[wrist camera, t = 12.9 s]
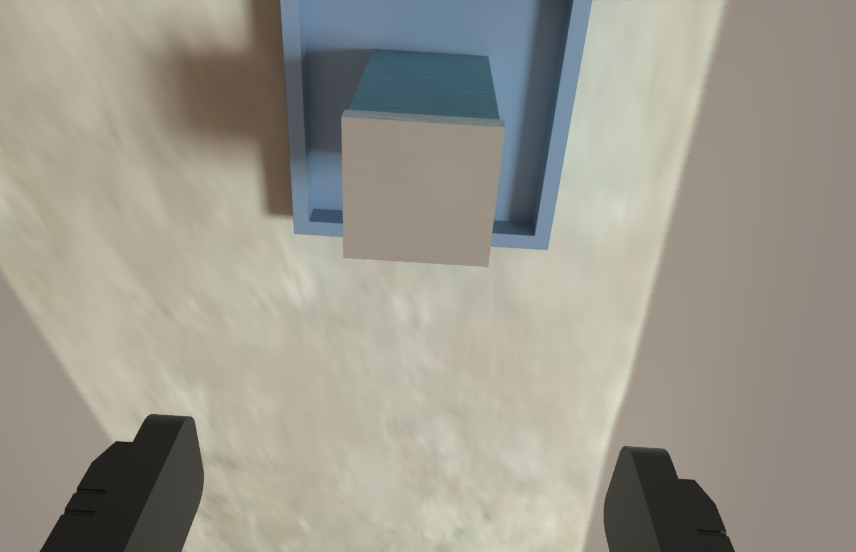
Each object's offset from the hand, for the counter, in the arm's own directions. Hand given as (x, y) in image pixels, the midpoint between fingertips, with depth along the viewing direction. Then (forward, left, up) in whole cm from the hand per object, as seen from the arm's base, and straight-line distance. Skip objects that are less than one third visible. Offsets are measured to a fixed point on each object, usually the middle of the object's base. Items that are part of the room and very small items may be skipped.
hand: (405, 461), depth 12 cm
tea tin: (0, -1, -24) cm, 24 cm away
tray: (0, -1, -24) cm, 24 cm away
